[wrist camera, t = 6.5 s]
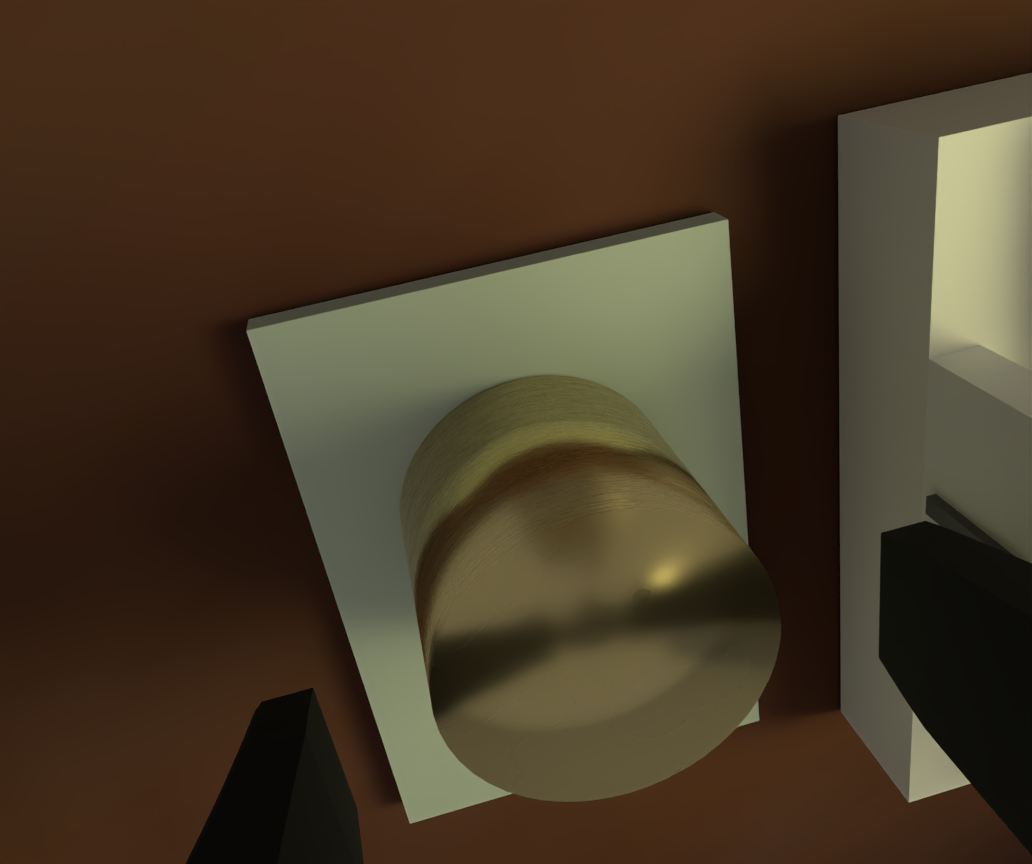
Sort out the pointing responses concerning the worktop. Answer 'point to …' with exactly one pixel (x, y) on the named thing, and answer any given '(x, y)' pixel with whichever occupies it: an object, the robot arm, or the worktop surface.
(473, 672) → the cylinder
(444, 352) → the rubber mat
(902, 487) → the scale
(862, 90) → the worktop surface
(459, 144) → the worktop surface
